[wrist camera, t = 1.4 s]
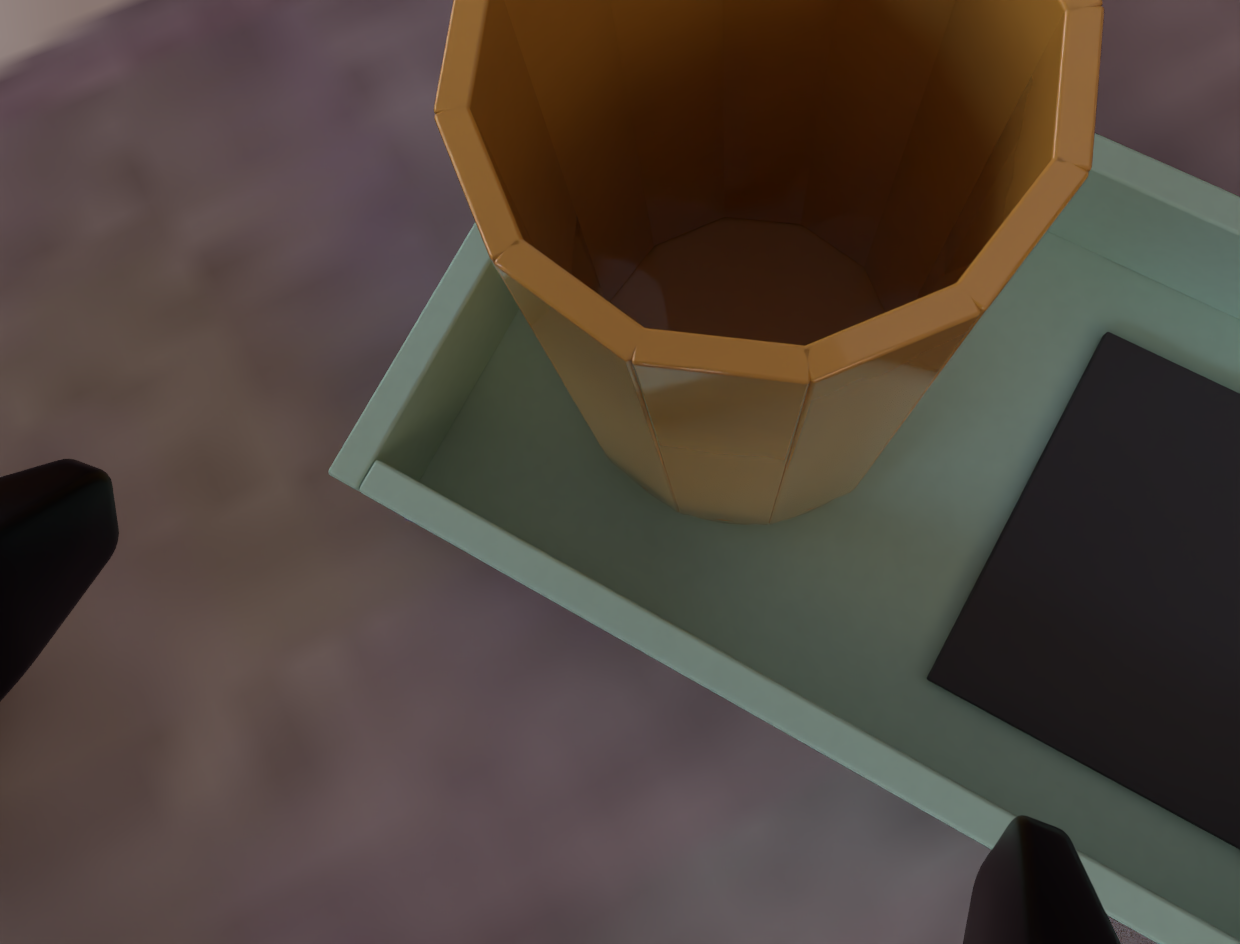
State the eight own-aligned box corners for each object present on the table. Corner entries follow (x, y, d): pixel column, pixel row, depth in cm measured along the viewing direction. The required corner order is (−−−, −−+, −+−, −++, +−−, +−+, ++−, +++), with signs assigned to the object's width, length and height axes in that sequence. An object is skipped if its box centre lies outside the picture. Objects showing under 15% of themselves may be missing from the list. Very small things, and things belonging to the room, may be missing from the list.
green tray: (1600, 462, 22) (1764, 425, 18) (1338, 1039, 20) (1462, 1116, 17) (655, 32, 25) (644, -68, 22) (383, 499, 24) (324, 472, 20)
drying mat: (1491, 518, 21) (1502, 516, 21) (1318, 892, 20) (1327, 895, 20) (1102, 334, 22) (1107, 330, 22) (925, 679, 22) (928, 679, 21)
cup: (890, 545, 22) (1073, 414, 10) (563, 502, 23) (390, 336, 11) (923, 229, 23) (1124, -213, 11) (609, 199, 24) (495, -242, 12)
